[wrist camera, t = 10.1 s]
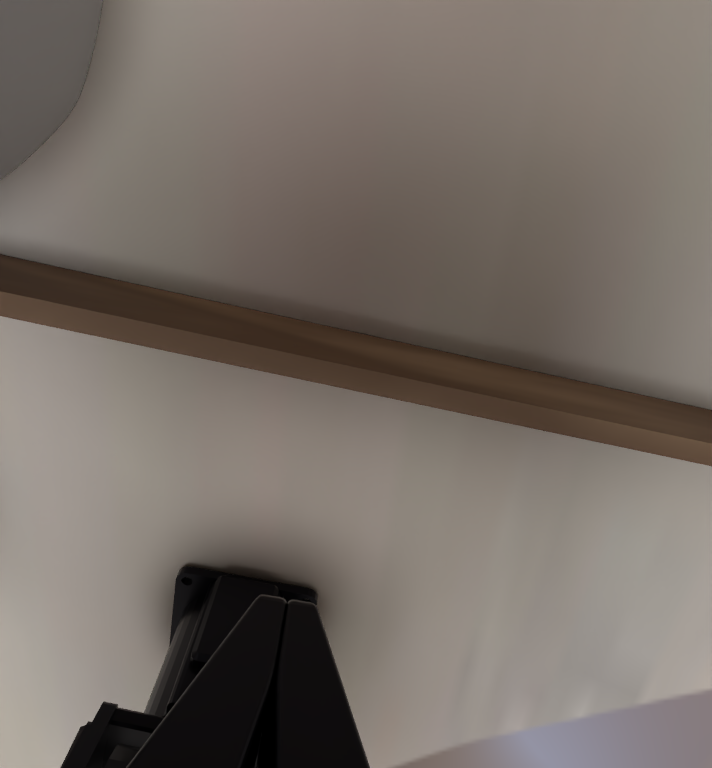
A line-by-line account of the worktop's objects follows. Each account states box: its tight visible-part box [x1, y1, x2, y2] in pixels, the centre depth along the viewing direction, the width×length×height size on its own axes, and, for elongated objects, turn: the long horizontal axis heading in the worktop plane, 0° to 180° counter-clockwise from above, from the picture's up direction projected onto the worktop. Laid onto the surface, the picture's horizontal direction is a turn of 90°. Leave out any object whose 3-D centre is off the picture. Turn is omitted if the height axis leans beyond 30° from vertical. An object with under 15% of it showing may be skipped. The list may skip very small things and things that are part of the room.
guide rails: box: [0, 255, 712, 466], centre depth 14 cm, size 17×41×4 cm, turn 77°
